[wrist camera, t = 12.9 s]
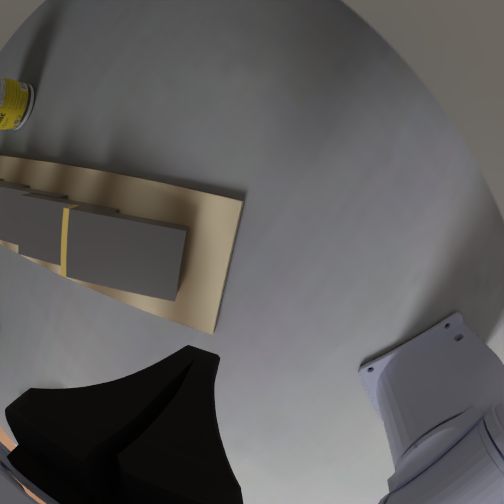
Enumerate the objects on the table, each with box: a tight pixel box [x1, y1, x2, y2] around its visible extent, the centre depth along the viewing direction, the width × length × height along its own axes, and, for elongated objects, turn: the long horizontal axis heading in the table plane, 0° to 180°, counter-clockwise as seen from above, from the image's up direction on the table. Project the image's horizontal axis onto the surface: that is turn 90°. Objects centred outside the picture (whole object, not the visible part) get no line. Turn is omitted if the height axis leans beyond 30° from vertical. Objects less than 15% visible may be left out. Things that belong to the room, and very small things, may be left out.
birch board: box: [0, 155, 244, 335], centre depth 22 cm, size 34×10×1 cm, turn 77°
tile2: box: [18, 193, 120, 266], centre depth 20 cm, size 2×5×9 cm
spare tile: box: [61, 205, 189, 302], centre depth 19 cm, size 2×5×9 cm
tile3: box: [0, 184, 68, 245], centre depth 20 cm, size 2×5×9 cm
